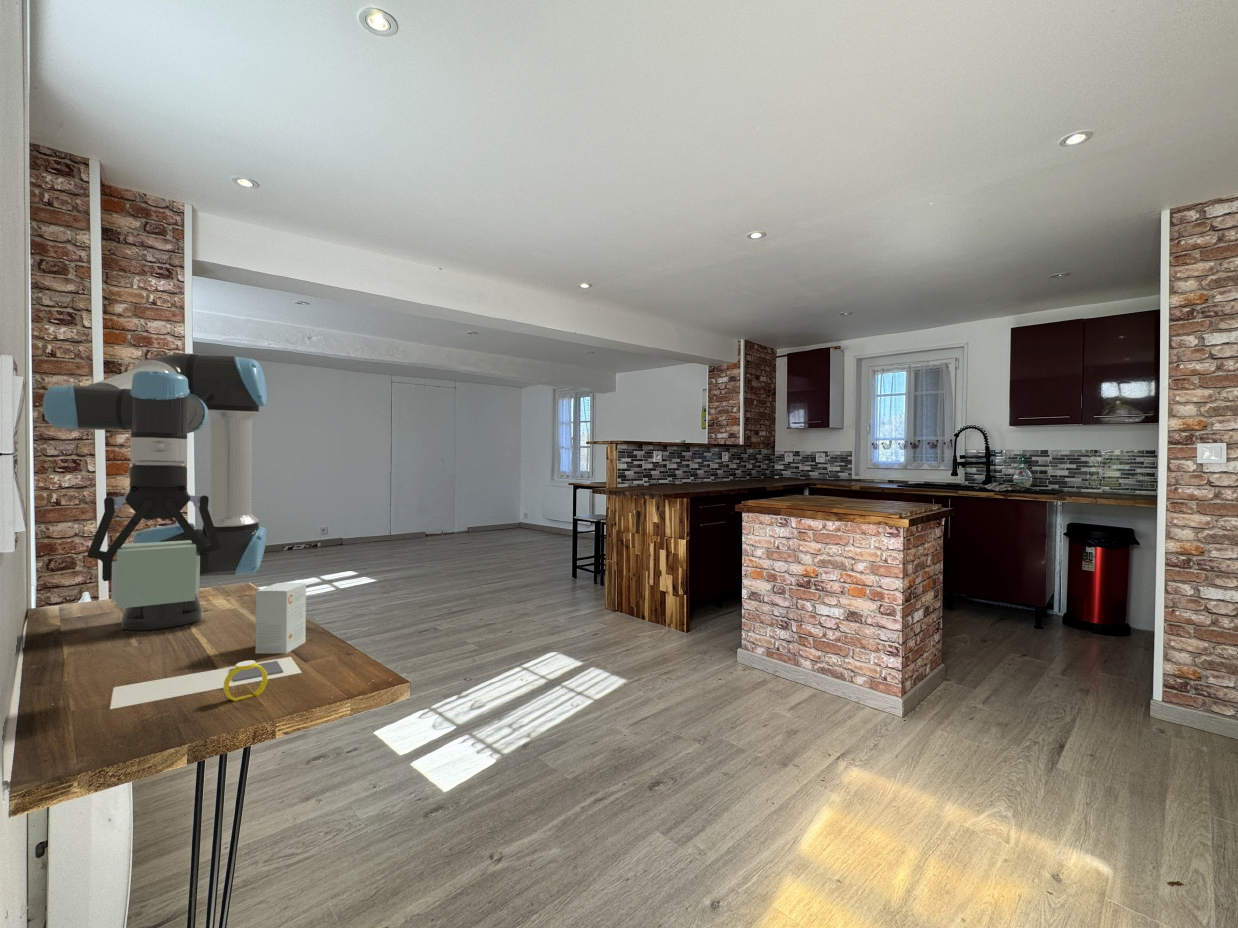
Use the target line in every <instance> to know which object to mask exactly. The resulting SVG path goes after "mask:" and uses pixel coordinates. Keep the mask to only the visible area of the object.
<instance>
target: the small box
mask: <svg viewBox="0 0 1238 928" xmlns="http://www.w3.org/2000/svg"><path fill="white" fill-rule="evenodd" d="M306 613H307V583H306V582H277V583H274V584H272V585H269V586H266V587H263V588H261V589H257V590H256V591H255V651H254V652H255V654H288V653H289V652H291V651H293V650H295V649H296V648H298V647H299V646H301V645H303V644H305V643H306V641H307V640H306V635H307V633H306V632H307V631H306V627H307V626H306V624H307V623H306V622H307V621H306V617H307V616H306V615H307V614H306Z"/></svg>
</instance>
